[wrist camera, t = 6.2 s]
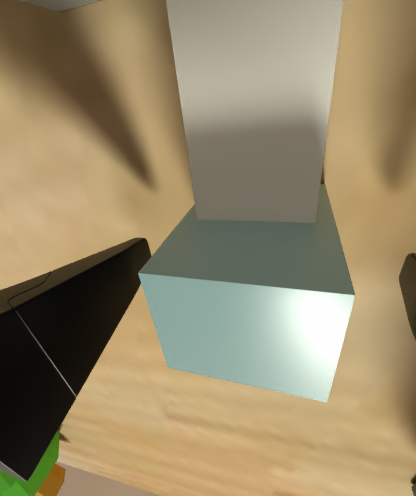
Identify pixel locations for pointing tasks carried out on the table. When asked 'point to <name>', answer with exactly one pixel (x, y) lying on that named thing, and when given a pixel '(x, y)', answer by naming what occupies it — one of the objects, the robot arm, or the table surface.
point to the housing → (59, 4)
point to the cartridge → (254, 199)
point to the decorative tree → (37, 476)
